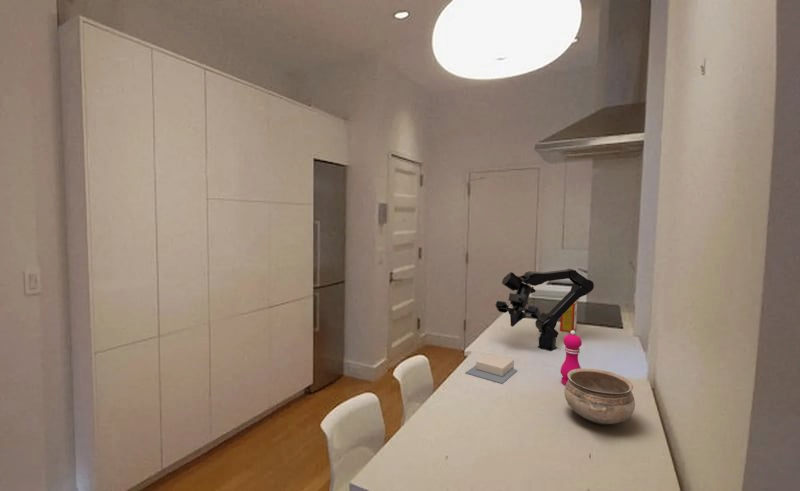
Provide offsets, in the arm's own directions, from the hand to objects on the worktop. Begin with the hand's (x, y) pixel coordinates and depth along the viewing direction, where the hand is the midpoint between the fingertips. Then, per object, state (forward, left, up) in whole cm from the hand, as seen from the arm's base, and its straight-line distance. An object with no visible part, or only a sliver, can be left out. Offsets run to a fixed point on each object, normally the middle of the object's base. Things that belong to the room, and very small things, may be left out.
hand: (511, 326), depth 166 cm
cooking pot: (-45, +26, -14) cm, 54 cm away
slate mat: (-4, +21, -13) cm, 25 cm away
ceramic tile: (-3, +12, -11) cm, 17 cm away
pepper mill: (-29, +8, -14) cm, 33 cm away
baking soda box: (+1, -57, -14) cm, 59 cm away
